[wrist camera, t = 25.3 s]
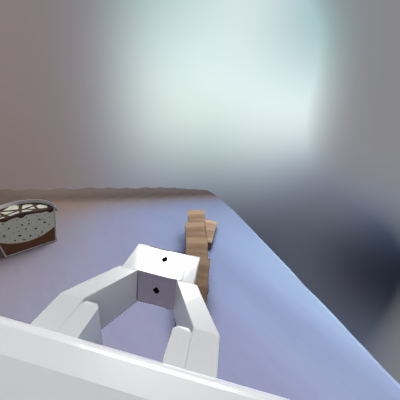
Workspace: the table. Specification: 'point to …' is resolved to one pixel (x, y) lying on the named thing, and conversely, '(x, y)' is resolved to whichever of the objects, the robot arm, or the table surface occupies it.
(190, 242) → the domino
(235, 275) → the table surface
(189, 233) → the domino
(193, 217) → the domino
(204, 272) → the domino
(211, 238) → the domino
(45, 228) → the food container
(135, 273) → the robot arm
